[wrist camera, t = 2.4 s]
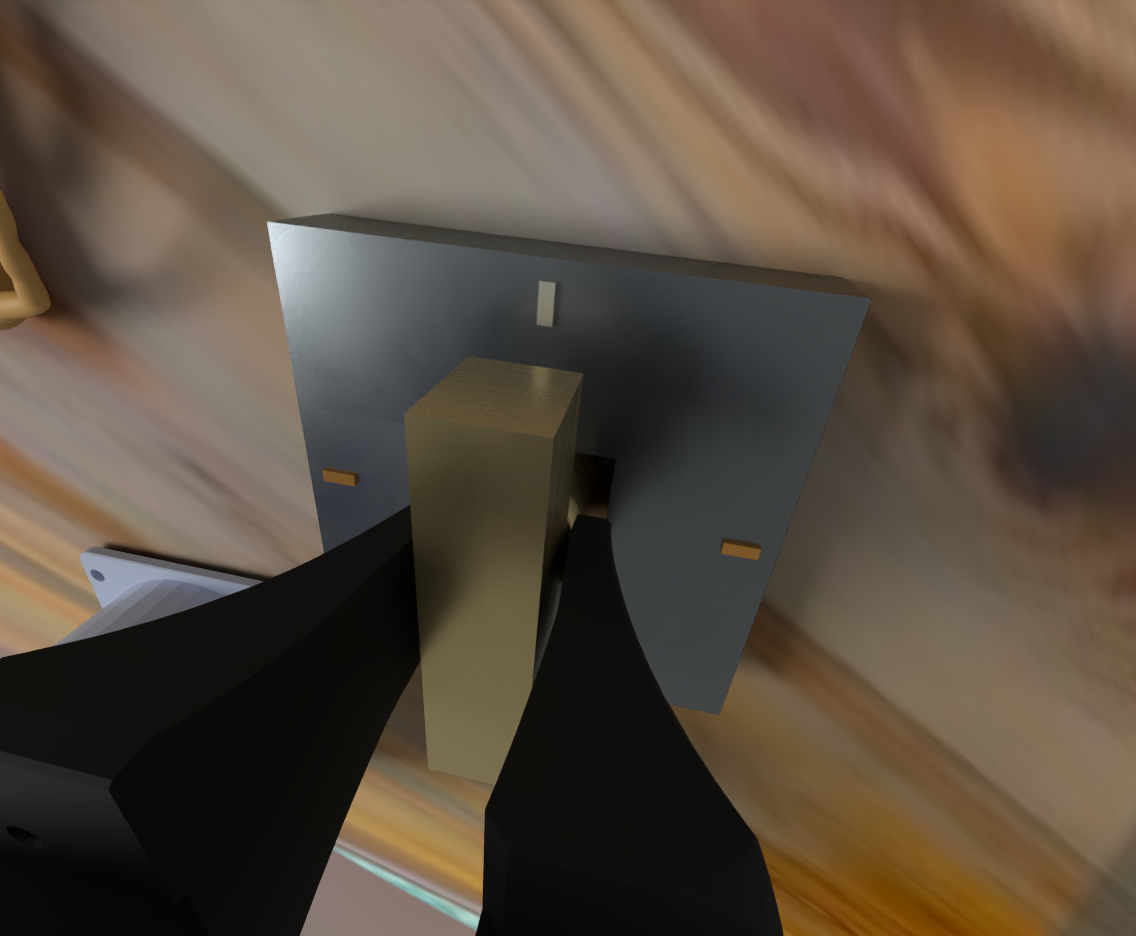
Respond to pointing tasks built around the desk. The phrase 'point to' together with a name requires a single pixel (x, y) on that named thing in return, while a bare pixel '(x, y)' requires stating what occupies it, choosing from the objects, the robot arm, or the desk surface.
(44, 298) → the figurine
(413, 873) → the desk surface
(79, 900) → the robot arm
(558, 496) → the t key
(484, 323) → the key plate
